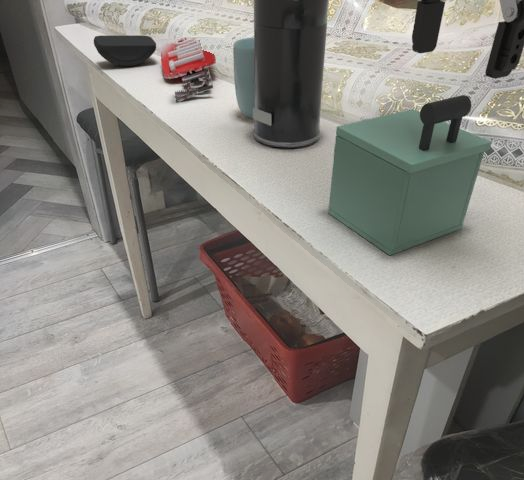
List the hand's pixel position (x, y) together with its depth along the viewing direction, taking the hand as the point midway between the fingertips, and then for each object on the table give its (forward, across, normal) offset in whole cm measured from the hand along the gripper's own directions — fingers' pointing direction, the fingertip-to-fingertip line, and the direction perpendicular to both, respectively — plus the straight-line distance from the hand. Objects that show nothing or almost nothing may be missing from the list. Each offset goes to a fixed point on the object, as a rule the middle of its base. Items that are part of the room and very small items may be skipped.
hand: (458, 63), depth 43 cm
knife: (+15, -64, -1) cm, 66 cm away
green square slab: (+8, -3, 0) cm, 8 cm away
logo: (+12, -61, +5) cm, 62 cm away
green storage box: (+16, -4, 0) cm, 17 cm away
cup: (+16, -40, +3) cm, 43 cm away
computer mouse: (+12, -78, -6) cm, 79 cm away
